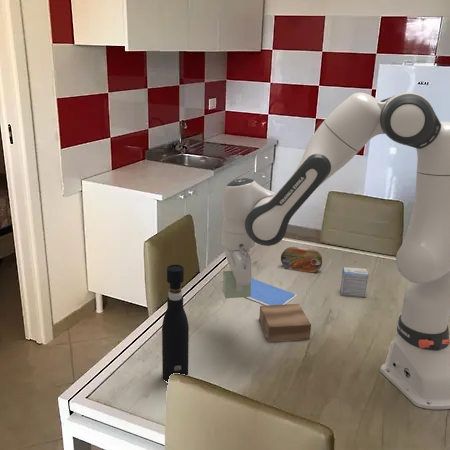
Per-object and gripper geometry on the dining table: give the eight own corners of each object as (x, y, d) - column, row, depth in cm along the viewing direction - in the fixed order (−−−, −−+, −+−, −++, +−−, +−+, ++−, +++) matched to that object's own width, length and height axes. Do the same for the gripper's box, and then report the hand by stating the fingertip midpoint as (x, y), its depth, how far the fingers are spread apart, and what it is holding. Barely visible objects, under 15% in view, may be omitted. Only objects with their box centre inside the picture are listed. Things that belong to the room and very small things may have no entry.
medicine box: (363, 291, 176) (366, 268, 172) (365, 297, 171) (368, 274, 168) (339, 289, 176) (342, 266, 173) (341, 296, 172) (344, 272, 169)
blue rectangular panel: (297, 297, 171) (298, 293, 171) (277, 312, 162) (277, 308, 161) (249, 280, 182) (250, 276, 181) (228, 292, 173) (228, 289, 172)
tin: (279, 268, 191) (281, 247, 188) (281, 264, 194) (283, 244, 191) (320, 274, 187) (323, 253, 184) (321, 271, 190) (324, 249, 187)
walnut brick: (309, 340, 147) (311, 324, 145) (268, 342, 145) (269, 327, 144) (297, 318, 158) (298, 303, 156) (259, 320, 156) (260, 305, 155)
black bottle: (175, 366, 133) (175, 259, 123) (193, 376, 129) (195, 267, 119) (157, 377, 128) (155, 268, 118) (175, 388, 125) (175, 276, 114)
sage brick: (250, 296, 142) (251, 277, 140) (225, 298, 141) (225, 278, 139) (247, 289, 146) (247, 270, 144) (222, 290, 145) (223, 271, 143)
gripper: (258, 253, 129) (256, 302, 133) (242, 225, 148) (241, 269, 152) (233, 254, 128) (232, 303, 132) (220, 226, 147) (219, 270, 151)
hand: (236, 285), depth 143 cm, fingers closed on sage brick, 4 cm apart
